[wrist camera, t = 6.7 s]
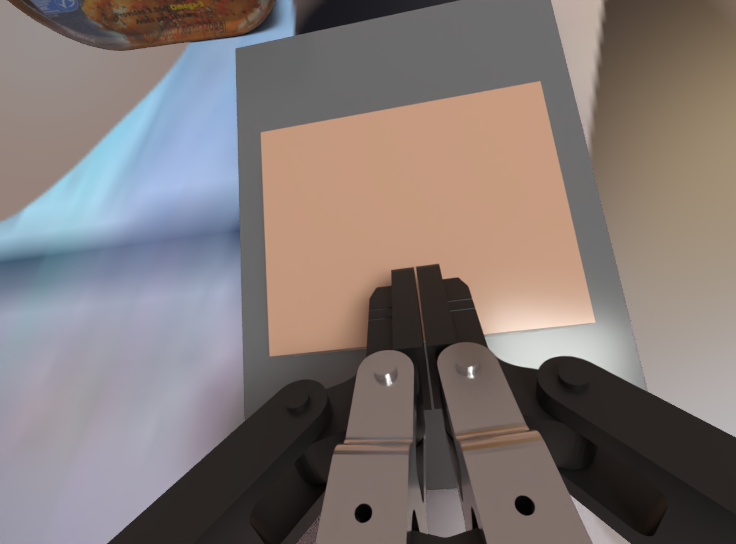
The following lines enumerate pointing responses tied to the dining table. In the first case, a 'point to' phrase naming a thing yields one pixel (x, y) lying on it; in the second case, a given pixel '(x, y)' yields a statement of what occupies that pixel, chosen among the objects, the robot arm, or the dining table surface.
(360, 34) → the slate board
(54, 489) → the dining table surface
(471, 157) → the tile
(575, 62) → the dining table surface
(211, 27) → the tin
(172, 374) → the dining table surface
